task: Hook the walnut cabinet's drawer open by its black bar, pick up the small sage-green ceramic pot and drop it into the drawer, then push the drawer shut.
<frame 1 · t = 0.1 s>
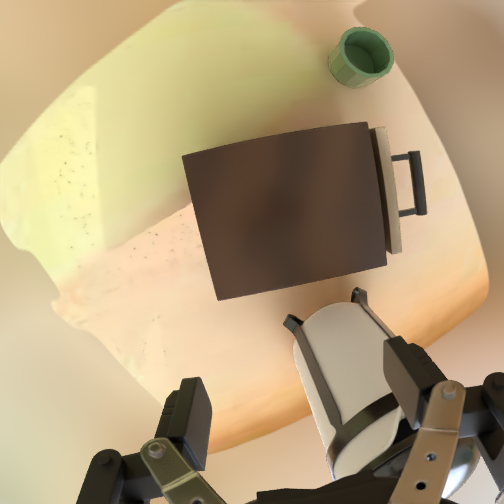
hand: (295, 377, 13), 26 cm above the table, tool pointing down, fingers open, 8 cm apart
cabinet: (282, 199, 37), on the table
drawer: (335, 195, 32), point 5 cm above the table, slide at 1.0 cm
pot: (352, 64, 32), on the table
coffee press: (336, 339, 42), on the table
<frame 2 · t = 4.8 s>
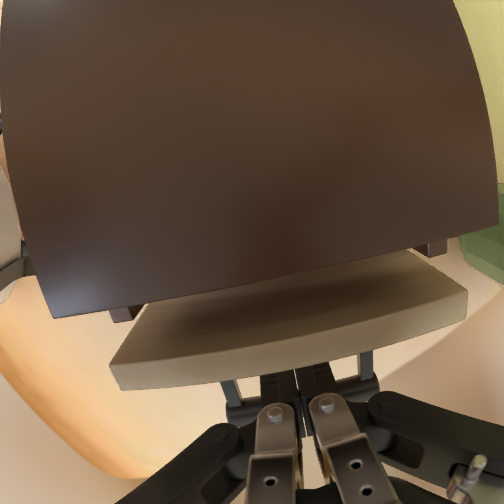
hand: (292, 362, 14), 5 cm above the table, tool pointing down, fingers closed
cabinet: (230, 63, 14), on the table
drawer: (260, 188, 12), point 5 cm above the table, slide at 2.3 cm, touching gripper
pot: (491, 228, 17), on the table
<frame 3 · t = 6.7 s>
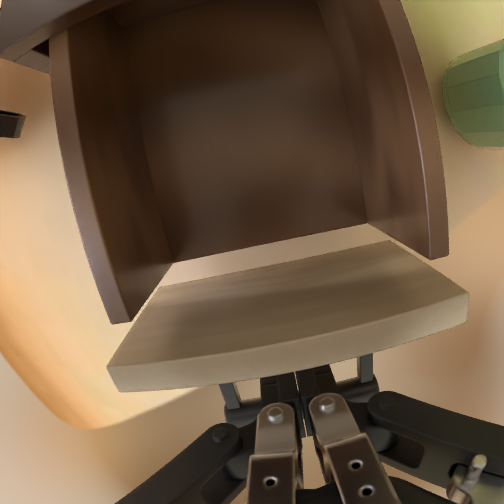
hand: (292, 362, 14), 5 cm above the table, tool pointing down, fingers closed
drawer: (260, 189, 12), point 5 cm above the table, slide at 10.9 cm, touching gripper
pot: (478, 101, 14), on the table
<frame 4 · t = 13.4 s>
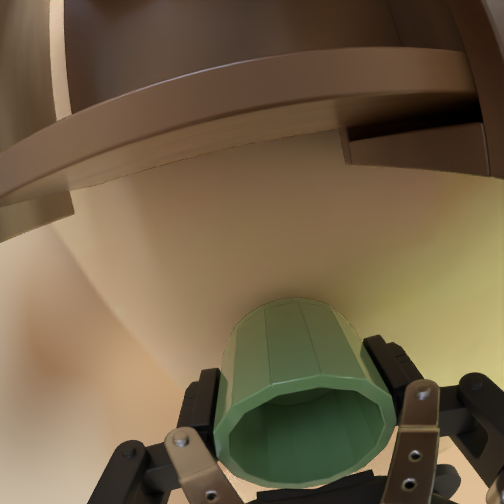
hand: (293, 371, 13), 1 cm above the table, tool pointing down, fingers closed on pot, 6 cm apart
cabinet: (461, 19, 10), on the table
pot: (291, 357, 14), on the table, touching gripper
when the fingers open (8 cm above the table, at t = 20.0 s): pot drops 4 cm, resting on drawer.
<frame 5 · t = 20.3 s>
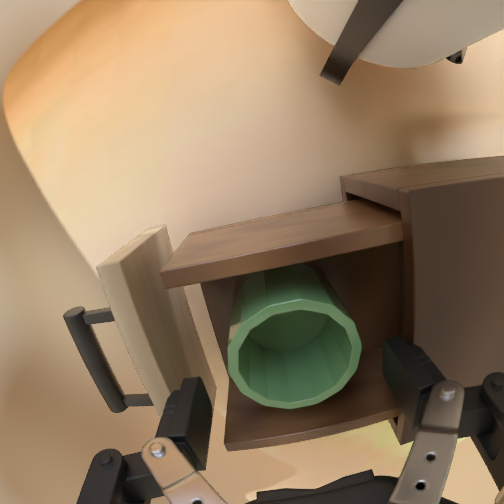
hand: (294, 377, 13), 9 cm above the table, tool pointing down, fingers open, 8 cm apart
cabinet: (452, 253, 20), on the table
drawer: (255, 334, 17), point 5 cm above the table, slide at 11.0 cm, touching pot
pot: (284, 309, 19), point 2 cm above the table, touching drawer
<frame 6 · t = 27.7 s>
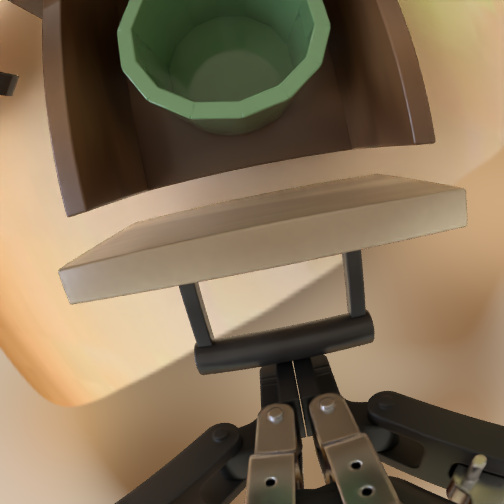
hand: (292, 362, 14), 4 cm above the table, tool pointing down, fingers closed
drawer: (234, 95, 10), point 5 cm above the table, slide at 10.1 cm, touching gripper, pot
pot: (231, 69, 12), point 2 cm above the table, touching drawer
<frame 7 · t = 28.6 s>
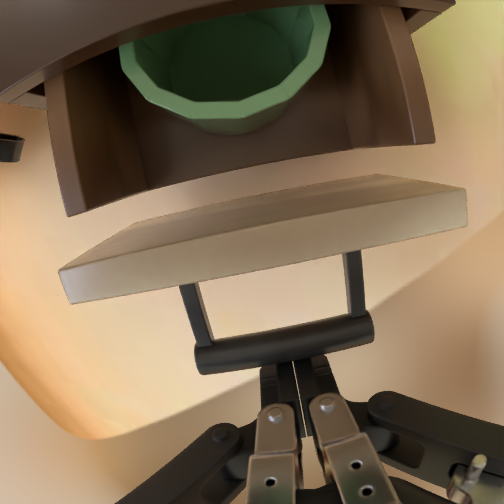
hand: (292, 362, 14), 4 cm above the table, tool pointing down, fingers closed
drawer: (234, 95, 10), point 5 cm above the table, slide at 5.6 cm, touching gripper, pot
pot: (231, 69, 12), point 2 cm above the table, touching drawer
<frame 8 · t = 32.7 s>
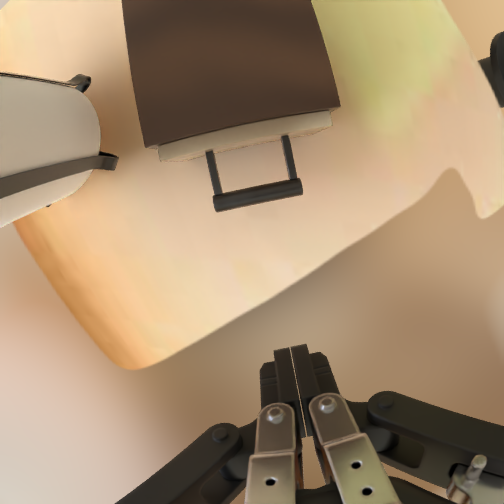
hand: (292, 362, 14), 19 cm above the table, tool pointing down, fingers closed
cabinet: (227, 56, 27), on the table
drawer: (233, 83, 23), point 5 cm above the table, slide at 0.0 cm, touching pot
coffee press: (57, 149, 28), on the table
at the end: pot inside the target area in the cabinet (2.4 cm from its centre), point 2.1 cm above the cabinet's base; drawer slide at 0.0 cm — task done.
